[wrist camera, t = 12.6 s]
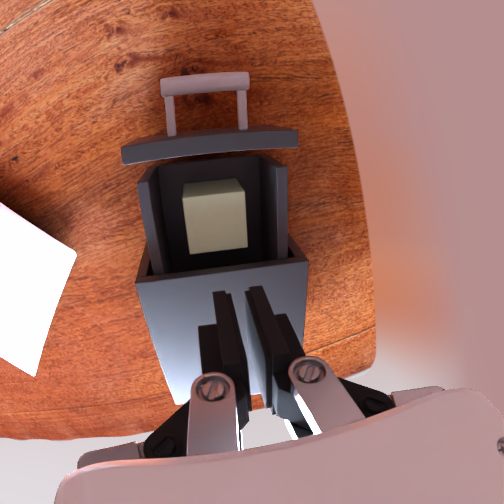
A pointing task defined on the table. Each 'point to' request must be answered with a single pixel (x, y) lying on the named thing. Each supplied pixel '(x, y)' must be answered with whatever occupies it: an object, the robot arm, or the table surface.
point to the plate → (28, 287)
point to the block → (215, 215)
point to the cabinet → (202, 309)
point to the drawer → (240, 167)
